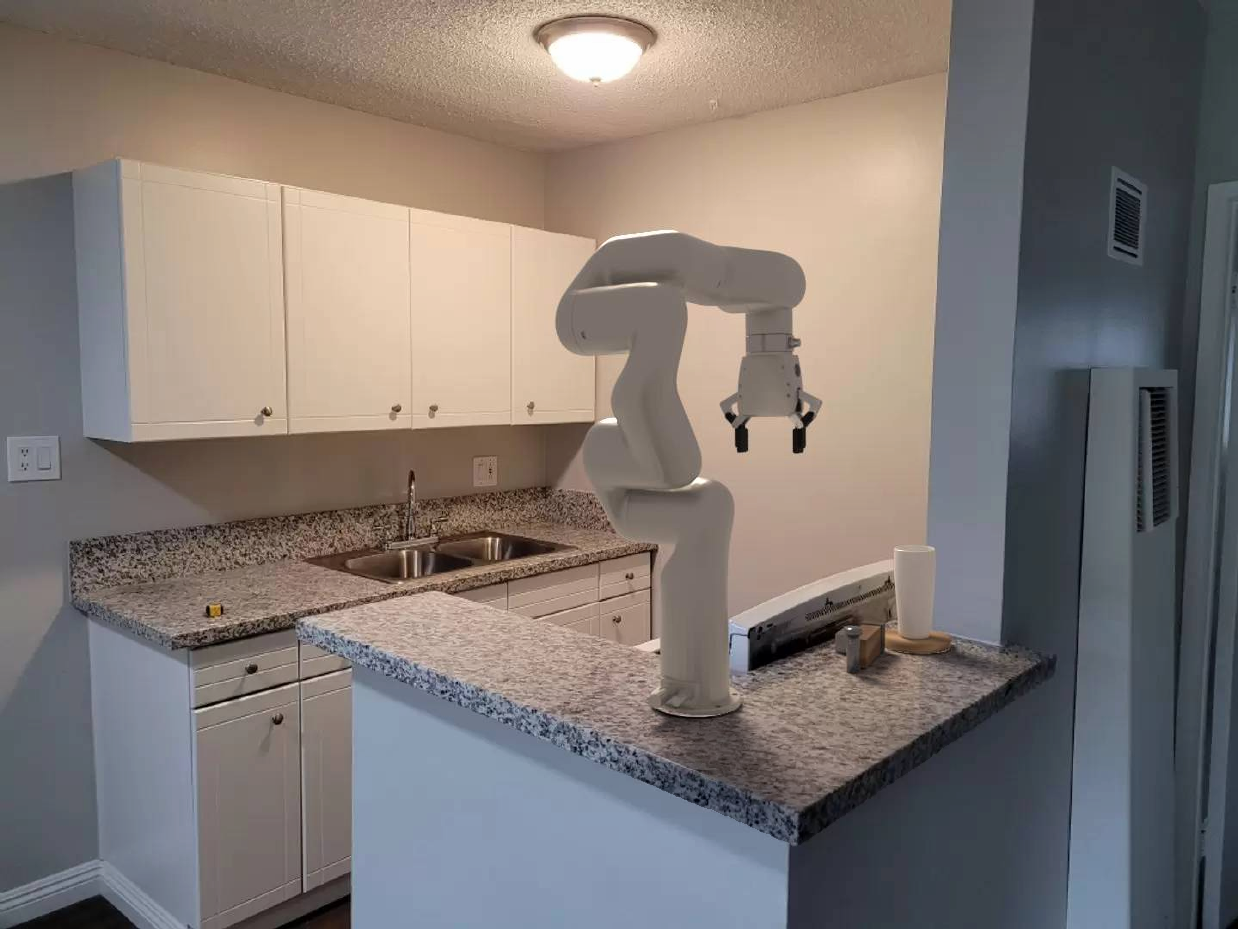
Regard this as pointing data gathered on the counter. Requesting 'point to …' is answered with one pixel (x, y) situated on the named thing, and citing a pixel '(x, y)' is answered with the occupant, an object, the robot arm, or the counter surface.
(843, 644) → the stop block
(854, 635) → the pivot pin
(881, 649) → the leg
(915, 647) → the wooden coaster
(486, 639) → the counter surface
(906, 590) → the drinking glass
